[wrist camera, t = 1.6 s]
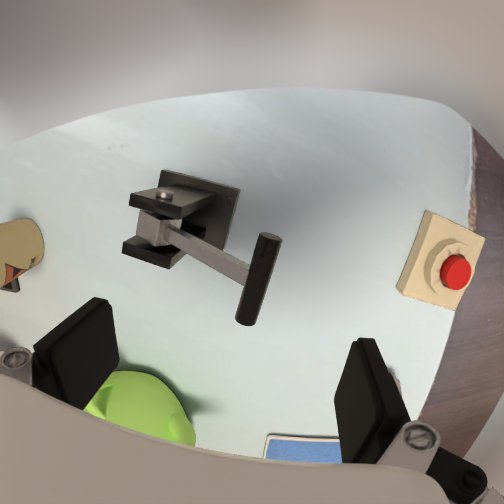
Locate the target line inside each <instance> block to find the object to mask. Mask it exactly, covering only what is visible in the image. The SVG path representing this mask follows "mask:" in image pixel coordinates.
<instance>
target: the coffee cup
mask: <svg viewBox="0 0 504 504" xmlns="http://www.w3.org/2000/svg"><path fill="white" fill-rule="evenodd" d="M43 254H44V242H43V237H42V234H41V232H40V229H39V228H38V226H37V225H36V223H35V222H33V221H32V220H30V219H20V220H15V221H10V222H6V223H1V224H0V288H2V287H3V286H5V285H6V284H8V283H9V282H11V281H12V280H14V279H15V278H17V277H18V276H20V275H21V274H23V273H24V272H26V271H27V270H29V269H31V268H32V267H34V266H35V265H37V264H38V263H39V262H40V261H41V259H42V257H43Z"/></svg>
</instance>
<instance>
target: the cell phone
mask: <svg viewBox="0 0 504 504" xmlns="http://www.w3.org/2000/svg"><path fill="white" fill-rule="evenodd" d="M0 289H1V290H5V291H10V292H18V291H19V285H18V281H17V278H15V279H14V280H12V281H11V282H9V283H8V284H6V285H5V286H3V287H2V288H0Z"/></svg>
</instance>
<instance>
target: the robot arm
mask: <svg viewBox="0 0 504 504" xmlns="http://www.w3.org/2000/svg"><path fill="white" fill-rule="evenodd" d="M33 348H34V351H35V352H34V353H33V354H32V353H31V352H30V350H28V349H27V348H24V347H15V348H11V349H9V350H7V351H6V352H4V353H3V354H2V356H1V358H0V504H504V497H503V496H502V495H501V494H500V493H499V492H498V491H496V490H495V489H494V488H493V487H492V488H490V489H488V488H487V477H486V474H485V473H484V471H483V470H482V469H481V468H479V467H478V466H476V465H474V464H472V463H470V462H468V461H466V460H464V459H462V458H460V457H458V456H456V455H454V454H452V453H450V452H448V451H446V450H445V449H443V448H441V447H439V445H440V435H439V433H438V431H437V429H436V428H435V427H434V426H432V425H431V424H429V423H427V422H424V421H418V420H415V421H411V420H410V417H409V415H408V412H407V409H406V407H405V404H404V402H403V399H402V397H401V394H400V392H399V389H398V387H397V384H396V382H395V380H394V377H393V375H392V374H391V373H389V372H388V370H387V367H386V365H385V362H384V360H383V358H382V355H381V353H380V351H379V348H378V346H377V344H376V342H375V340H374V339H373V338H358V340H357V341H353V343H352V345H351V348H350V351H349V355H348V358H347V361H346V364H345V367H344V370H343V373H342V376H341V379H340V382H339V384H338V387H337V390H336V393H335V397H334V404H335V411H336V418H337V426H338V433H339V441H340V449H341V458H342V463H315V462H298V461H285V460H273V459H264V458H256V457H248V456H241V455H235V454H229V453H223V452H218V451H213V450H208V449H203V448H198V447H194V446H189V445H185V444H181V443H177V442H173V441H169V440H166V439H162V438H158V437H155V436H151V435H148V434H145V433H142V432H139V431H135V430H132V429H129V428H127V427H124V426H121V425H118V424H115V423H112V422H110V421H107V420H104V419H102V418H99V417H97V416H94V415H92V414H89V413H87V412H85V411H83V410H84V409H85V407H86V406H87V405H88V403H89V402H90V401H91V399H92V398H93V397H94V395H95V394H96V393H97V392H98V390H99V389H100V388H101V386H102V385H103V384H104V382H105V381H106V380H107V379H108V377H109V376H110V375H111V373H112V372H113V371H114V370H115V368H116V367H117V366H118V364H119V352H118V346H117V340H116V334H115V327H114V320H113V312H112V306H111V305H110V304H109V302H108V301H107V300H106V299H101V298H97V297H94V298H92V299H91V300H89V301H88V302H87V303H85V304H84V305H83V306H82V307H80V308H79V309H78V310H76V311H75V312H74V313H73V314H71V315H70V316H69V317H68V318H66V319H65V320H64V321H63V322H61V323H60V324H59V325H58V326H56V327H55V328H54V329H53V330H51V331H50V332H49V333H48V334H46V335H45V336H44V337H43V338H42V339H40V340H39V341H38V342H37V343H36V344H34V345H33Z"/></svg>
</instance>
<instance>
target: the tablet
mask: <svg viewBox="0 0 504 504" xmlns="http://www.w3.org/2000/svg"><path fill="white" fill-rule="evenodd" d="M263 458H264V459H273V460H285V461H298V462H315V463H342V458H341V449H340V441H339V439H319V438H299V437H287V436H278V435H269V436H267V440H266V444H265V449H264V454H263Z"/></svg>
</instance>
